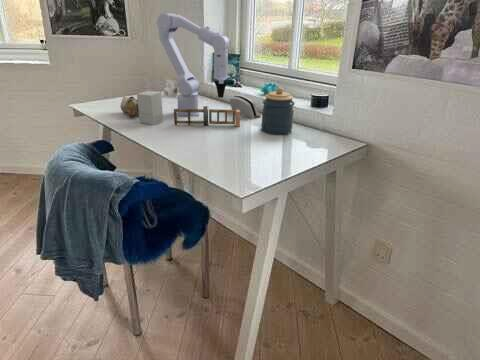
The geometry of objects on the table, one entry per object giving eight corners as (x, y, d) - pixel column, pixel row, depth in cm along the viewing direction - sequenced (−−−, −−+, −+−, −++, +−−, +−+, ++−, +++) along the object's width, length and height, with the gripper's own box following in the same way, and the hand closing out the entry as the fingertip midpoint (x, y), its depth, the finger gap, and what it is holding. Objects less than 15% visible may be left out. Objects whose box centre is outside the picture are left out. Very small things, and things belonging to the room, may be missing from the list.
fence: (174, 125, 150) (173, 109, 147) (174, 124, 152) (174, 108, 149) (204, 125, 151) (203, 109, 148) (204, 124, 152) (203, 109, 150)
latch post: (236, 126, 151) (236, 111, 149) (235, 124, 155) (235, 109, 152) (239, 126, 151) (240, 111, 149) (239, 124, 155) (239, 109, 152)
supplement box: (163, 121, 155) (161, 92, 150) (153, 125, 149) (150, 95, 144) (150, 118, 158) (147, 90, 153) (139, 123, 152) (136, 93, 147)
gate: (209, 123, 151) (209, 110, 149) (209, 123, 152) (209, 109, 150) (234, 124, 152) (235, 110, 149) (234, 123, 153) (235, 109, 150)
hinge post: (203, 125, 151) (203, 107, 148) (203, 124, 153) (203, 106, 149) (208, 126, 151) (208, 107, 148) (208, 124, 153) (208, 106, 149)
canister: (255, 127, 152) (257, 85, 144) (282, 124, 157) (285, 83, 149) (269, 136, 141) (273, 91, 134) (297, 133, 146) (302, 90, 138)
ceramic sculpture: (133, 91, 167) (152, 98, 159) (134, 109, 171) (153, 117, 163) (112, 94, 160) (131, 102, 152) (114, 113, 164) (133, 122, 156)
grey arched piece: (261, 117, 166) (256, 97, 160) (253, 122, 164) (248, 102, 158) (239, 109, 178) (234, 91, 172) (232, 113, 176) (227, 95, 170)
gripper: (231, 68, 147) (230, 101, 153) (229, 63, 160) (228, 93, 166) (213, 68, 147) (213, 100, 152) (213, 63, 160) (213, 93, 165)
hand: (220, 97), depth 159 cm, fingers closed
